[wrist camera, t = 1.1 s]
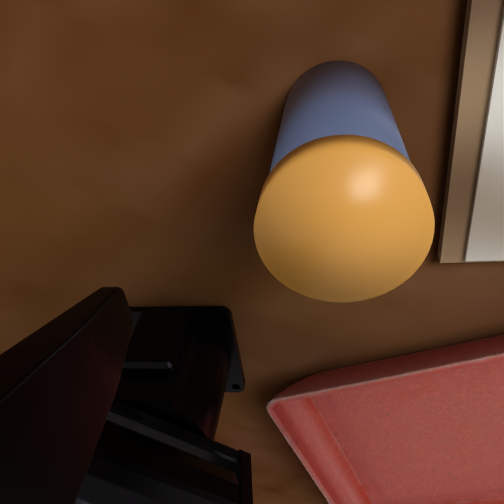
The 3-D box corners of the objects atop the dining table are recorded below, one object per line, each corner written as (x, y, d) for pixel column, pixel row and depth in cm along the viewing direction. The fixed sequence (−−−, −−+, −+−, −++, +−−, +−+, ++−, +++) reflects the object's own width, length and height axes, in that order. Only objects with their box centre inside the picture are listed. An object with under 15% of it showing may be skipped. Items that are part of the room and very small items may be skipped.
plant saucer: (635, 485, 30) (667, 541, 27) (361, 512, 36) (364, 560, 33) (623, 273, 21) (667, 323, 18) (265, 355, 27) (259, 402, 24)
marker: (387, 159, 19) (426, 301, 12) (286, 166, 20) (263, 303, 12) (391, 51, 17) (443, 144, 9) (277, 63, 18) (242, 158, 10)
